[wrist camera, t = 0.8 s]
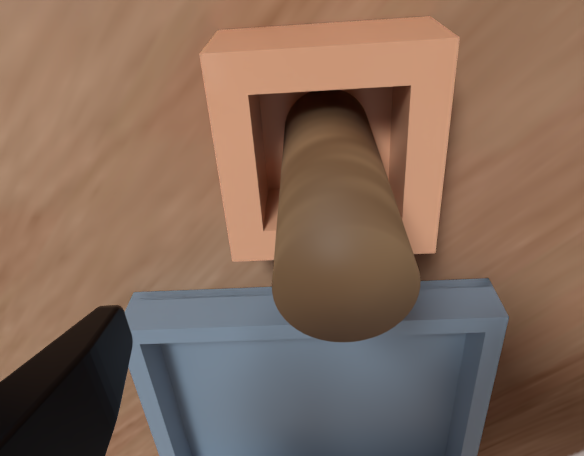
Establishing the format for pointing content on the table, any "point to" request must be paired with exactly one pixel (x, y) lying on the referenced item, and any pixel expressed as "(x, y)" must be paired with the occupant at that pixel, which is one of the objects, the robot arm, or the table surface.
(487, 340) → the slate tray
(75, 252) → the table surface
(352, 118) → the walnut dowel
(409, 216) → the terracotta socket
